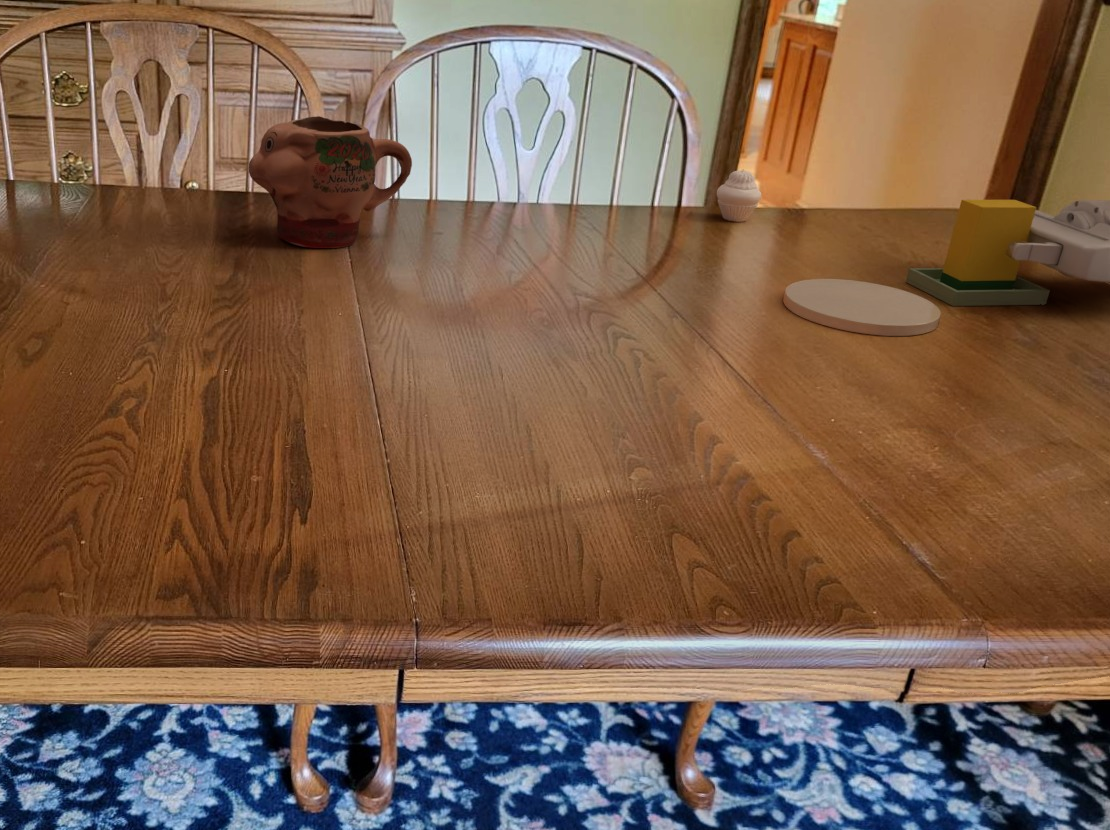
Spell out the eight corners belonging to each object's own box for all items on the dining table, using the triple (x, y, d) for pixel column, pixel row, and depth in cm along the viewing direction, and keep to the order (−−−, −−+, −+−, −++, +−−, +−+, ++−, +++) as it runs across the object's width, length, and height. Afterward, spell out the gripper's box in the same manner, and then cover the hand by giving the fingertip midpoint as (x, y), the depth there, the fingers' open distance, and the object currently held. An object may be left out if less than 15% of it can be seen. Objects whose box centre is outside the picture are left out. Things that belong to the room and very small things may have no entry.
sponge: (990, 283, 130) (1015, 199, 126) (1011, 293, 127) (1036, 207, 123) (938, 284, 129) (961, 199, 125) (958, 293, 126) (982, 207, 122)
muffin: (766, 222, 155) (775, 172, 152) (735, 226, 152) (744, 175, 149) (733, 212, 160) (741, 163, 157) (703, 215, 157) (711, 166, 154)
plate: (932, 301, 125) (934, 291, 124) (944, 345, 111) (947, 334, 110) (785, 281, 129) (787, 271, 128) (780, 321, 115) (782, 310, 115)
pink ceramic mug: (387, 222, 145) (392, 113, 139) (423, 246, 135) (430, 130, 129) (238, 230, 137) (236, 115, 131) (265, 256, 127) (264, 133, 121)
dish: (994, 281, 133) (998, 267, 133) (1045, 304, 125) (1050, 290, 125) (905, 282, 131) (909, 268, 130) (952, 306, 123) (956, 291, 122)
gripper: (1035, 191, 136) (935, 190, 133) (1166, 235, 118) (1054, 235, 115) (1020, 241, 139) (922, 241, 136) (1146, 291, 121) (1036, 293, 118)
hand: (983, 239), depth 125 cm, fingers open, 8 cm apart
